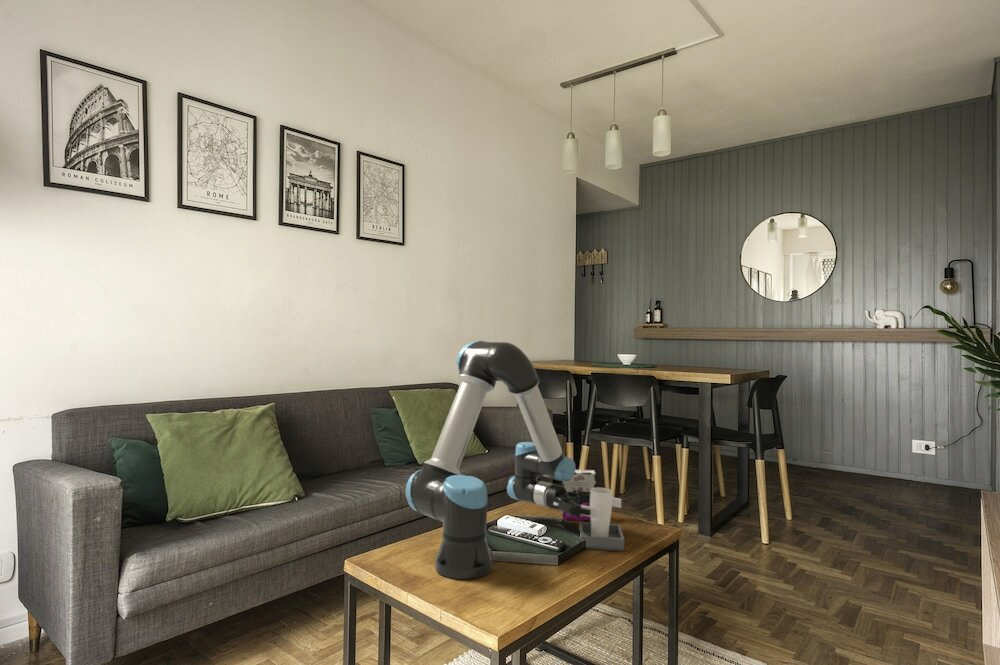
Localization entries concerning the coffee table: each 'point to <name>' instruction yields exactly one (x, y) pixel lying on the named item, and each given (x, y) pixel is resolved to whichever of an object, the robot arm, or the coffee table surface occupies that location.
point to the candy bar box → (580, 489)
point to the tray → (603, 538)
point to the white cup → (603, 501)
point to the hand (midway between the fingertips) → (611, 508)
